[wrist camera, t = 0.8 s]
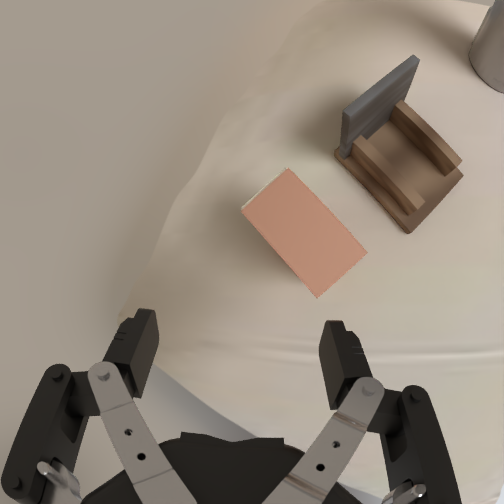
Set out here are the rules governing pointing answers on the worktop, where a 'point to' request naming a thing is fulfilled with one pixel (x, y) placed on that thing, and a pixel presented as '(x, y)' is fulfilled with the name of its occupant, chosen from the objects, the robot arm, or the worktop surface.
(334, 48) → the worktop surface
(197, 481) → the robot arm
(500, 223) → the worktop surface
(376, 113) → the rack
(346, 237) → the salmon pink rectangular block
